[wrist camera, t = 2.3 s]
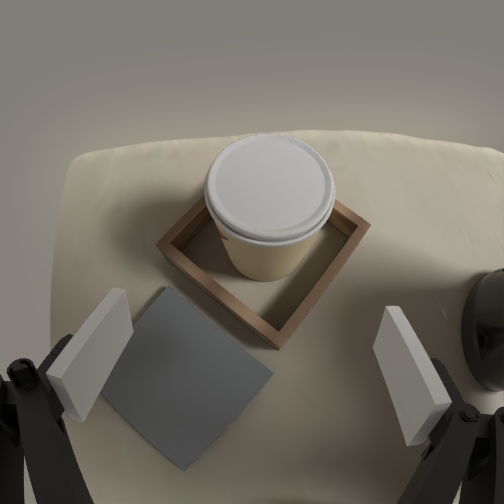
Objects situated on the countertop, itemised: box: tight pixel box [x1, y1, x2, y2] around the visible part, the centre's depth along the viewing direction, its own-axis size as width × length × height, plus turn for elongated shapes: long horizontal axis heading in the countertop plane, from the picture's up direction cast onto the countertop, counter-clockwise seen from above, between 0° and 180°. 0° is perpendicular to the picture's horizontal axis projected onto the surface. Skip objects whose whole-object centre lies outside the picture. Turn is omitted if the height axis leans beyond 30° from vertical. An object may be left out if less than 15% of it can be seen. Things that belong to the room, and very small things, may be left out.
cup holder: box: [156, 195, 371, 350], centre depth 31 cm, size 15×15×3 cm
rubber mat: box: [100, 285, 273, 471], centre depth 27 cm, size 13×13×1 cm
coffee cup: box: [204, 133, 335, 282], centre depth 27 cm, size 9×9×12 cm
